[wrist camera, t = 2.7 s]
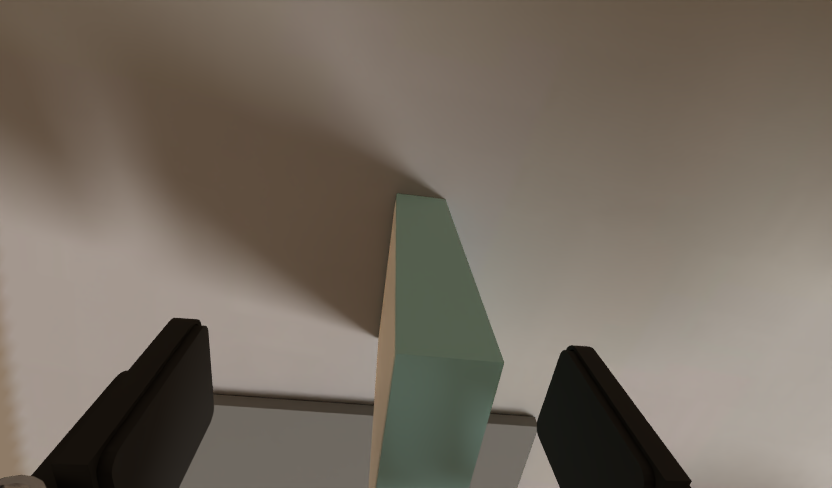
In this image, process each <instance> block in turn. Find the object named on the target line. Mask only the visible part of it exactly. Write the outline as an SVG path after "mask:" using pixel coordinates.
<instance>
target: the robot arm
mask: <svg viewBox="0 0 832 488" xmlns="http://www.w3.org/2000/svg"><path fill="white" fill-rule="evenodd" d="M213 413H214V399H213V386H212V373H211V360H210V347H209V335H208V328H207V326H201V322H200V320H198V319H184V318H173V319H171V320H170V321H169V322H168V324H167V325H166V326H165V327H164V328H163V330H162V331H161V332H160V333H159V334H158V336H157V337H156V338H155V339H154V340H153V342H152V343H151V344H150V345H149V346H148V348H147V349H146V350H145V351H144V352H143V354H142V355H141V356H140V357H139V358H138V360H137V361H136V362H135V363H134V364H133V365H132V367H131V368H130V369H129V370H128V371H124V372H121V373H120V374H119V375H118V376H117V377H116V378H115V379H114V380H113V381H112V382H111V383H110V385H109V386H108V387H107V388H106V389H105V390H104V391H103V393H102V394H101V395H100V396H99V397H98V398H97V400H96V401H95V402H94V403H93V404H92V405H91V407H90V408H89V409H88V410H87V411H86V412H85V414H84V415H83V416H82V417H81V418H80V419H79V421H78V422H77V423H76V424H75V425H74V426H73V428H72V429H71V430H70V431H69V432H68V433H67V435H66V436H65V437H64V438H63V439H62V440H61V442H60V443H59V444H58V445H57V446H56V447H55V449H54V450H53V451H52V452H51V453H50V454H49V456H48V457H47V458H46V459H45V460H44V461H43V463H42V464H41V465H40V466H39V467H38V468H37V470H36V471H35V472H34V473H33V474H32V475H31V476H26V475H17V476H10V477H4V478H1V479H0V488H179V487H180V485H181V483H182V481H183V478H184V476H185V474H186V472H187V470H188V468H189V466H190V464H191V462H192V460H193V458H194V456H195V454H196V452H197V450H198V448H199V445H200V443H201V441H202V439H203V437H204V435H205V433H206V431H207V429H208V427H209V425H210V423H211V420H212V417H213ZM537 433H538V436H539V439H540V441H541V443H542V446H543V448H544V451H545V453H546V455H547V458H548V460H549V463H550V465H551V467H552V470H553V472H554V475H555V477H556V479H557V482H558V484H559V487H560V488H691V487H690V483H691V482H692V481H691V480H690V478H689V477H688V476H687V474H686V473H685V472H684V470H683V469H682V467H681V466H680V465H679V463H678V462H677V461H676V459H675V458H674V457H673V455H672V454H671V453H670V451H669V450H668V449H667V447H666V446H665V445H664V443H663V442H662V440H661V439H660V438H659V436H658V435H657V434H656V432H655V431H654V430H653V428H652V427H651V426H650V424H649V423H648V422H647V420H646V419H645V418H644V416H643V415H642V413H641V412H640V411H639V409H638V408H637V407H636V405H635V404H634V403H633V401H632V400H631V399H630V397H629V396H628V395H627V393H626V392H625V390H624V389H623V388H622V386H621V385H620V384H619V382H618V381H617V380H616V378H615V377H614V376H613V374H612V373H611V372H610V370H609V369H608V368H607V366H606V365H605V363H604V362H603V361H602V359H601V358H600V357H599V355H598V354H597V353H596V351H595V350H594V349H593V348H592V347H587V346H573V345H571V346H569V347H568V348H567V349H566V350H563V351H562V352H561V354H560V356H559V359H558V362H557V365H556V368H555V371H554V374H553V377H552V380H551V382H550V385H549V388H548V391H547V394H546V397H545V400H544V403H543V406H542V409H541V412H540V414H539V417H538V420H537Z"/></svg>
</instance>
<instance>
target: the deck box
mask: <svg viewBox="0 0 832 488" xmlns="http://www.w3.org/2000/svg"><path fill="white" fill-rule="evenodd" d="M503 365H504V361H503V358H502V355H501V352H500V350H499V347H498V344H497V341H496V338H495V336H494V333H493V330H492V327H491V325H490V322H489V319H488V316H487V314H486V311H485V308H484V305H483V303H482V300H481V297H480V294H479V291H478V289H477V286H476V283H475V280H474V278H473V275H472V272H471V269H470V267H469V264H468V261H467V258H466V255H465V253H464V250H463V247H462V244H461V242H460V239H459V236H458V233H457V231H456V228H455V225H454V222H453V220H452V217H451V214H450V211H449V208H448V206H447V203H446V200H445V199H440V198H432V197H423V196H415V195H407V194H398V193H397V195H396V200H395V208H394V216H393V224H392V233H391V241H390V249H389V257H388V265H387V273H386V282H385V290H384V298H383V306H382V314H381V322H380V330H379V339H378V354H377V369H376V384H375V399H374V414H373V429H372V444H371V459H370V473H369V488H469V486H470V483H471V479H472V476H473V472H474V469H475V465H476V461H477V458H478V454H479V451H480V447H481V444H482V440H483V436H484V433H485V429H486V426H487V422H488V419H489V415H490V412H491V408H492V404H493V401H494V397H495V394H496V390H497V387H498V383H499V379H500V376H501V372H502V369H503Z"/></svg>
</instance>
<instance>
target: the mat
mask: <svg viewBox="0 0 832 488" xmlns="http://www.w3.org/2000/svg"><path fill="white" fill-rule="evenodd" d="M213 399H214V413H213V417H212V420H211V423H210V425H209V427H208V429H207V431H206V433H205V435H204V437H203V439H202V441H201V443H200V445H199V448H198V450H197V452H196V454H195V456H194V458H193V460H192V462H191V464H190V466H189V468H188V470H187V472H186V474H185V476H184V478H183V481H182V483H181V485H180V487H179V488H369V473H370V459H371V444H372V429H373V414H374V406H373V405H358V404H344V403H330V402H316V401H301V400H287V399H273V398H259V397H244V396H230V395H216V394H213ZM536 433H537V422H536V419H535V417H529V416H515V415H501V414H490V415H489V419H488V422H487V426H486V429H485V433H484V436H483V440H482V444H481V447H480V451H479V454H478V458H477V461H476V465H475V469H474V472H473V476H472V479H471V483H470V486H469V488H517V487H518V484H519V481H520V478H521V475H522V473H523V470H524V467H525V464H526V461H527V458H528V455H529V453H530V450H531V447H532V444H533V441H534V438H535V435H536Z"/></svg>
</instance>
